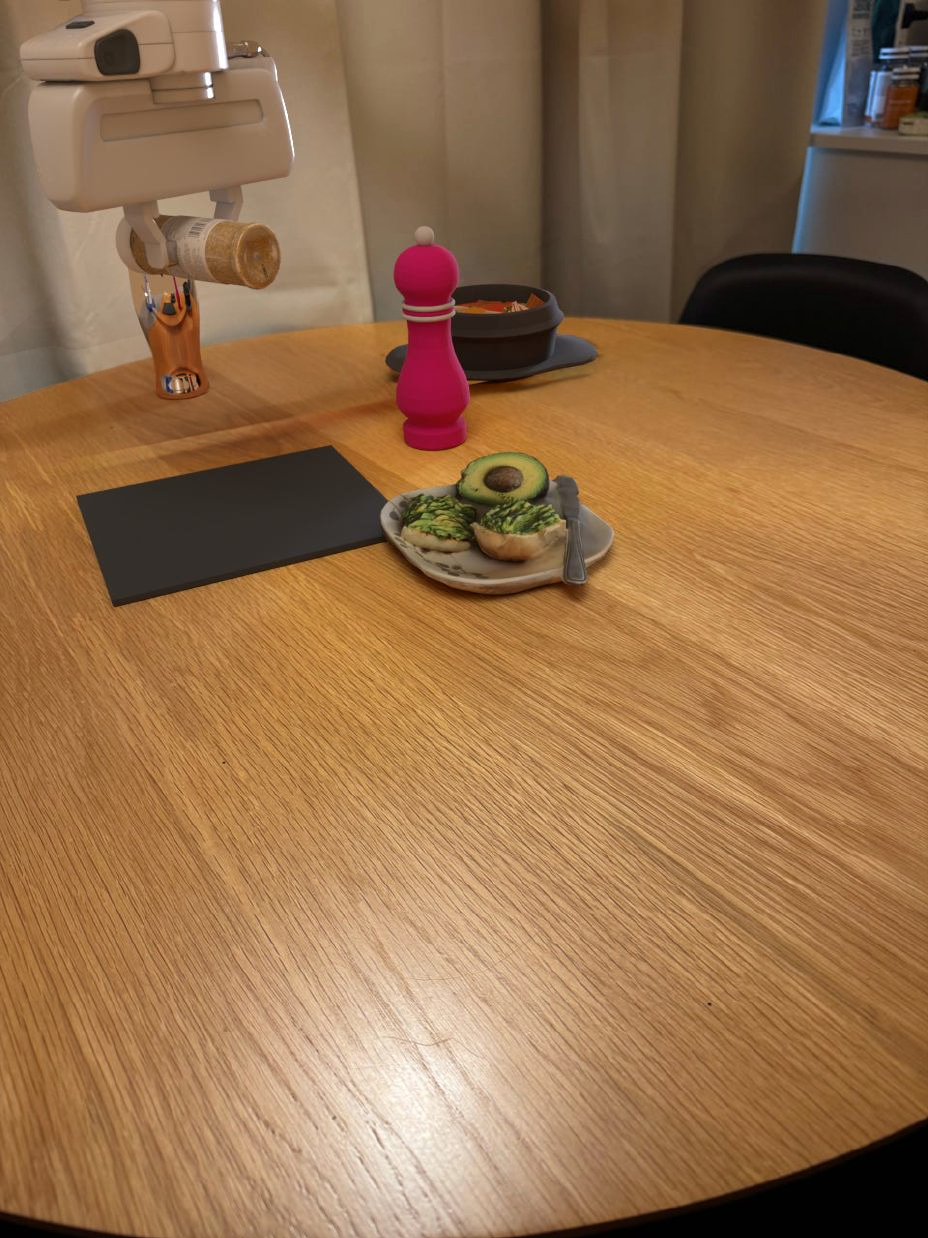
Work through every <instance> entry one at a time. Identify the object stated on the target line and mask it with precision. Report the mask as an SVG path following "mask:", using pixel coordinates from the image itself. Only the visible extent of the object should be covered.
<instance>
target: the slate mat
mask: <svg viewBox="0 0 928 1238" xmlns="http://www.w3.org/2000/svg"><path fill="white" fill-rule="evenodd" d="M75 497H76V501H77V504H78V508H79V510H80V513H81V516H82V519H83V522H84V525H85V528H86V530H87V533H88V536H89V540H90V542H91V546H92V548H93V551H94V554H95V557H96V559H97V563H98V566H99V569H100V571H101V574H102V578H103V580H104V583H105V586H106V589H107V592H108V596H109V597H110V601H111V604H112V607H119V606H122V605H123V606H124V605H127V604H131V603H135V602H139V601H143V600H148V599H151V598H156V597H160V596H164V595H168V594H169V595H170V594H172V593H176V592H180V591H185V590H190V589H193V588H197V587H201V586H206V585H210V584H213V583H214V584H215V583H218V582H222V581H226V580H230V579H234V578H238V577H243V576H246V575H251V574H255V573H259V572H264V571H267V570H271V569H276V568H279V567H284V566H288V565H293V564H296V563H300V562H305V561H308V560H314V559H317V558H321V557H325V556H326V557H327V556H329V555H333V554H337V553H342V552H346V551H350V550H351V551H352V550H356V549H358V548H362V547H363V548H364V547H366V546H371V545H375V544H378V543H383V542H388V541H387V540H386V538H385V536H384V534H383V532H382V529H381V524H380V512H381V510H382V509H383V507H384V506H385V504H386V503H387V502H388V501H389V499H387V498H386V497H385V495H383V494H382V493H381V492H380V490H379V489H377V488H376V487H375V486H374V485H373V484H372V483H371V482H370V481H369V480H368V479H367V478H366V477H365V476H364V475H363V474H362V473H361V472H360V471H359V470H358V469H357V468H356V467H355V466H354V465H353V464H352V463H351V462H350V461H349V460H347V458H346V457H344V455H342V453H341V452H339V450H337V449H336V448H335V447H334V446H333V445H332V444H329V445H328V444H327V445H324V446H318V447H313V448H309V449H308V448H307V449H304V450H298V451H293V452H287V453H283V454H279V455H274V456H273V455H272V456H268V457H263V458H258V459H253V460H248V461H243V462H238V463H233V464H229V465H223V466H219V467H214V468H207V469H202V470H198V471H193V472H188V473H184V474H177V475H173V476H168V477H162V478H158V479H153V480H148V481H143V482H138V483H133V484H128V485H127V484H126V485H122V486H118V487H113V488H108V489H107V488H106V489H103V490H99V491H98V490H97V491H93V492H88V493H83V494H79V495H78V494H77V495H76V496H75Z"/></svg>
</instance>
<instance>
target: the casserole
mask: <svg viewBox="0 0 928 1238" xmlns="http://www.w3.org/2000/svg"><path fill="white" fill-rule="evenodd" d="M451 298H453V299H454V300H455V304H454V310H455V315H454V316H453V317H451V337H452V343H453V347H454V351H455V354H456V356H457V358H458V361H459V363H460V365H461V367H462V369H463V371H464V373H465V376H466V379H467V381H481V382H478V385H479V384H481V385H482V384H483V385H490V384H506V383H507V384H508V383H512V382H518V381H521V380H525V379H529V378H532V377H535V376H537V375H541V374H546V373H549V372H552V371H557V370H562V369H566V368H572V367H579V366H584V365H586V364H589V363H591V362H593V361H594V359H596V358H597V355H598V350H597V348H596V346H594V345H593V344H592V343H590V341H588V340H586V339H584V338H582V337H579V336H576V335H573V334H559V333H558V328H559V326H560V324H561V323H562V322H563V321H564V319H565V314H564V312H563V311H562V310H561V309H560V308H559V306H558V303H557V299H556V296H555V295H554V294H553V293H552V292H550V291H548V290H545V289H542V288H539V287H534V286H529V285H521V284H511V283H510V284H509V283H483V284H469V285H463V286H457V287H456V289H455V290H454V291H453V293H452V294H451ZM407 348H408V343H405V344H401V345H398V346H396V347H394V348H393V349H391V351H389V352H388V353H387V354H386V356H385V359H384V362H385V364H386V367H388V368H389V369H390V370H391V371H394V372H397V373H398V374H400V373H401V370H402V367H403V365H404V362H405V358H406V355H407Z"/></svg>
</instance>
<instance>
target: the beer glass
mask: <svg viewBox="0 0 928 1238" xmlns="http://www.w3.org/2000/svg"><path fill="white" fill-rule="evenodd" d="M127 270H128V279H129V286H130V287H129V288H130V292H131V298H132V302H133V303H132V304H133V306H134V311H135V313H136V316H137V320H138V323H139V326H140V329H141V330H142V331H141V332H142V333H143V336H144V339H145V341H146V344H147V346H148V348H149V351H150V355H151V357H152V361H153V366H154V373H155V374H154V375H155V393H156V395H157V396H158V397H159V398H162V399H165V400H184V399H191V398H195V397H198V396H201V395H204V394H205V393H208V391H209V390H210V388H211V386H210V382H209V379H208V377H207V373H206V371H205V368H204V365H203V360H202V354H201V317H200V315H201V313H200V300H199V293H198V289H197V283H196V280H192V279H185V278H178V277H176V276H171V275H165V274H159V275H147V274H142V273H137V272H135V271H132V270H131V269H129V268H128V267H127Z"/></svg>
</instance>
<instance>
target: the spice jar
mask: <svg viewBox="0 0 928 1238" xmlns="http://www.w3.org/2000/svg"><path fill="white" fill-rule="evenodd" d="M159 215H160V216H159V217H158V218H153V220H154V221H155V223H156V224H157V226H158V228H159V229H160V231H161V232H162V234H163V236H164V237H165V239H166V240H176V243H177V255H178V259H179V264H178V265H176V266H173V267H169V268H166V269H156V268H152V267H151V266H150V265H149V263H148V260H147V255H146V249H145V244H144V242H142V240H141V239H140V238H139V236H138V235H137V234H136V232H135V231H134V230H133V228H132V227H131V226H130V224H129V223H128V222H127V220H126V219H125V216H123V217H122V218H121V219H120V220H119V223H118V224H117V227H116V230H115V237H114V238H115V239H114V240H115V248H116V252H117V255H118V256H119V259H120V261H122V263H123V264H124V266H126V267H127V269H128V268H129V269H131V270H132V271H135V272H137V273H142V274H147V275H159V274H165V275H171V276H176V277H178V278H185V279H192V280H195V281H199V282H204V283H205V282H206V283H212V284H220V285H225V286H226V285H233V286H240V287H244V288H245V287H246V288H248V289H251V290H256V291H259V290H263V289H266V288H268V287H269V286H271V285H272V284H273V283H274V282H275V281H276V279H277V277H278V276H279V272H280V269H281V263H282V249H281V244H280V242H279V239H278V237H277V234H276V233H275V231H273V229H272V228H271V227H270V226H268V225H266V224H264V223H263V222H256V221H252V222H249V223H248V222H238V221H237V222H233V221H231V220H223V219H215V218H214V217H204V216H203V217H202V216H193V215H183V214H182V215H181V214H180V215H169V214H161V213H159Z"/></svg>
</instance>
